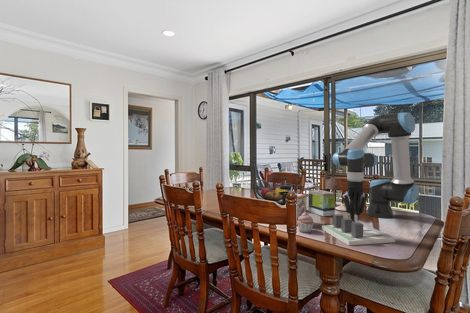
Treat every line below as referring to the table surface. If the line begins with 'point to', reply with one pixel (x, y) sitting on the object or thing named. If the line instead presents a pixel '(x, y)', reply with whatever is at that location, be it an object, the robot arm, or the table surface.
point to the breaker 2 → (357, 229)
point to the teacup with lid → (342, 211)
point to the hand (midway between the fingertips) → (354, 227)
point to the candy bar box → (301, 204)
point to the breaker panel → (368, 237)
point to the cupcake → (305, 223)
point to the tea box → (322, 202)
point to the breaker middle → (346, 224)
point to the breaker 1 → (337, 220)
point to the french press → (284, 187)
